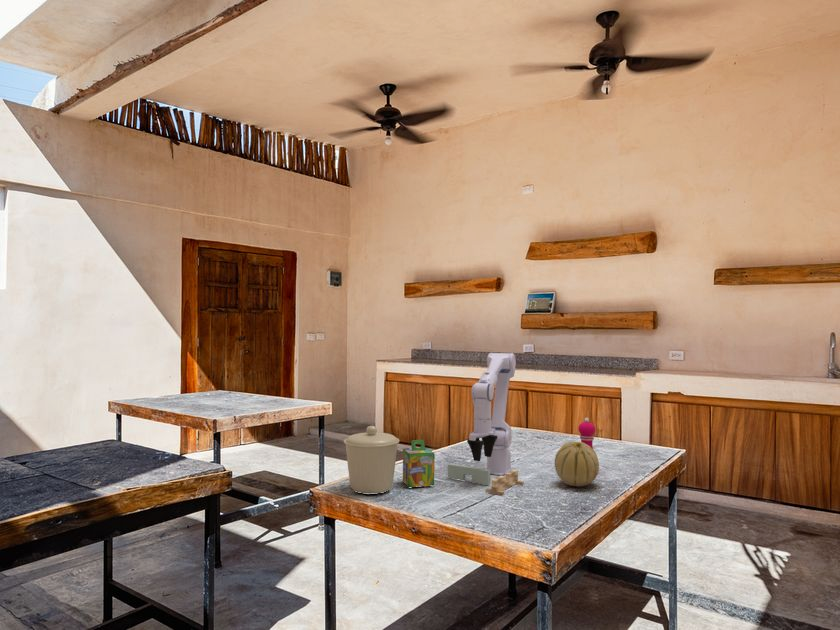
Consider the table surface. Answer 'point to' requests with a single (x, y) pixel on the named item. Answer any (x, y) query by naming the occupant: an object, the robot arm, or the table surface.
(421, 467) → the chalk box
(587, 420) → the pepper mill
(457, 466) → the pale gray-green board
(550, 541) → the table surface
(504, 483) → the wooden rack
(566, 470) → the cantaloupe
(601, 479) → the table surface
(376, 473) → the canister
